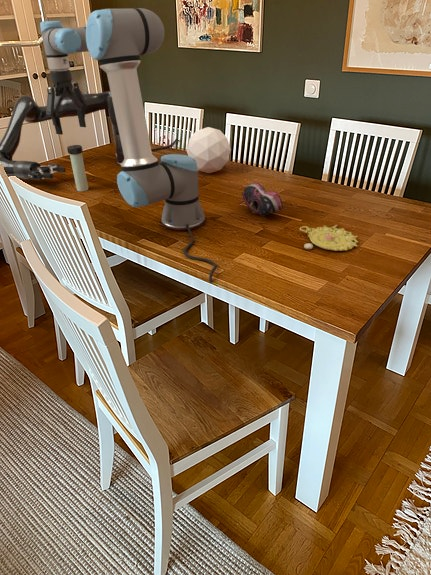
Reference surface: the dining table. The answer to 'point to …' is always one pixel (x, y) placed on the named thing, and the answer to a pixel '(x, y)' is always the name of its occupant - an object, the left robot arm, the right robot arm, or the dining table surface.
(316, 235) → the decorative object
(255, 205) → the athletic shoe
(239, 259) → the dining table surface
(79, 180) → the pale green capped tube
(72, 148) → the lid
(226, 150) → the sphere
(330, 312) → the dining table surface
